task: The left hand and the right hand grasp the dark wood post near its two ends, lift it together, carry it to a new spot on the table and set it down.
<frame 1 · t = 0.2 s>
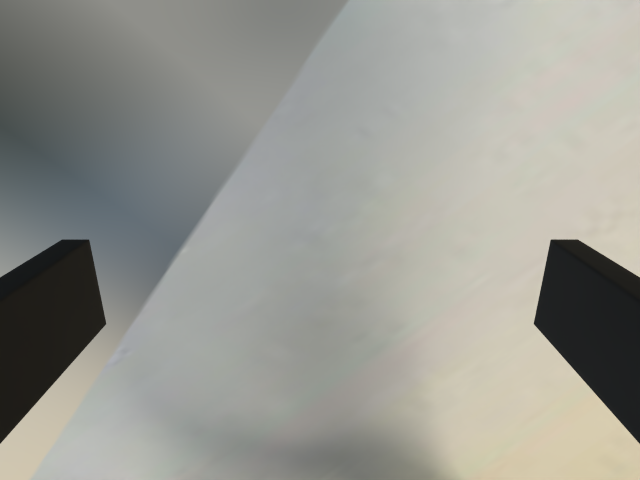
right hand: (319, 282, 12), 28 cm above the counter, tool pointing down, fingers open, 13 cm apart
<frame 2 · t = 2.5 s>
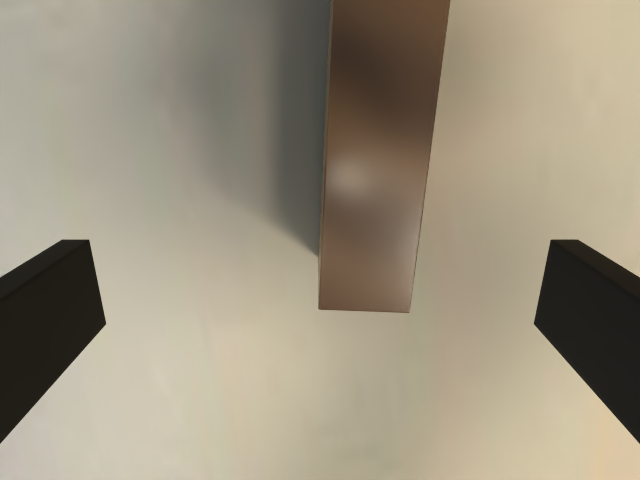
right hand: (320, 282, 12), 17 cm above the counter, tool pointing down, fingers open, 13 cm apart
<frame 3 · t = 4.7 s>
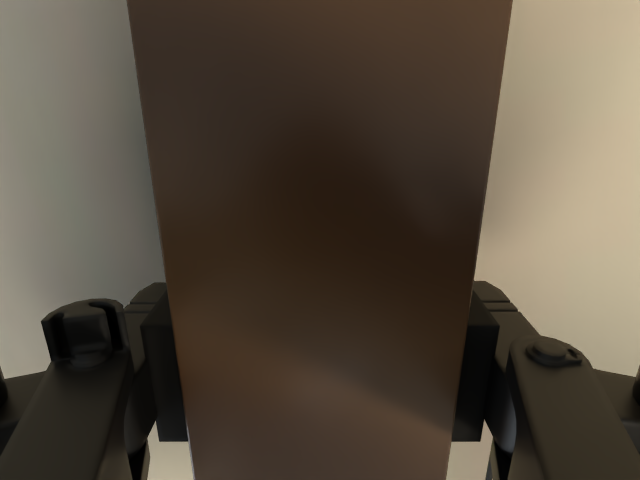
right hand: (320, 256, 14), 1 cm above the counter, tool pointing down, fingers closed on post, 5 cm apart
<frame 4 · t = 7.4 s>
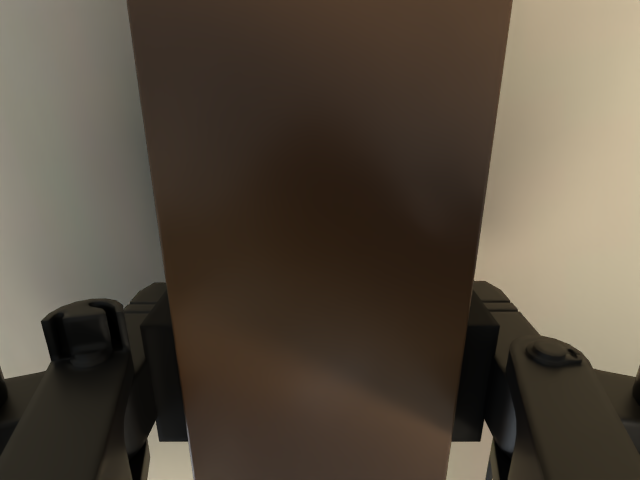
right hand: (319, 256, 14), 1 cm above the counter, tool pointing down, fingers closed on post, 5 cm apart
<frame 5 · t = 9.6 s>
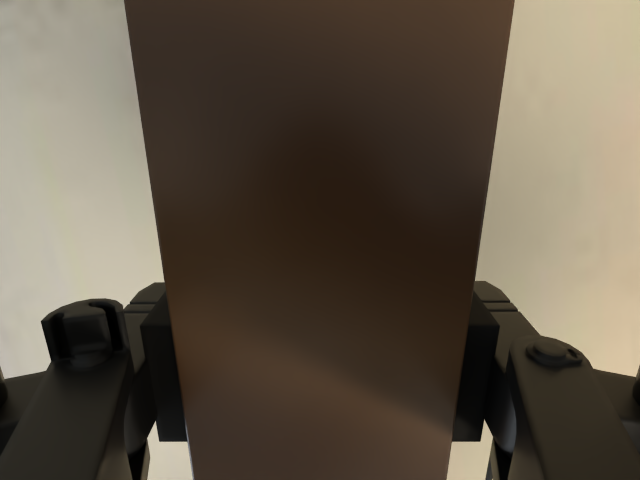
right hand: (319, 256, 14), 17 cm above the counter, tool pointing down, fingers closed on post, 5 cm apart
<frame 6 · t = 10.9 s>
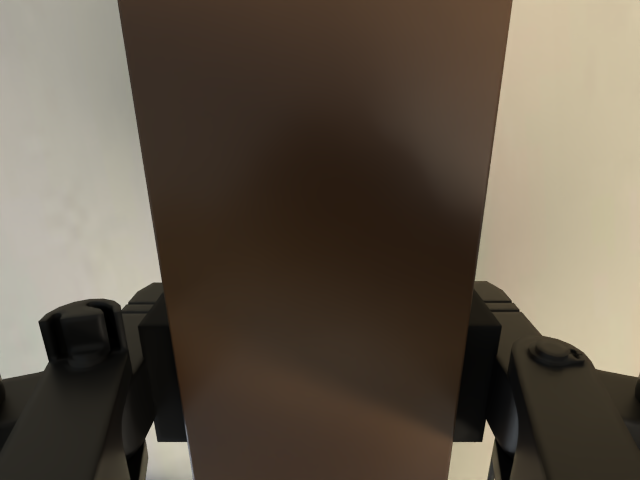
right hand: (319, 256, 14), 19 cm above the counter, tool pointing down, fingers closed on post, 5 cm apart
when the right hand's fingers open (2 cm above the counter, at t = 14.3 s): post drops 2 cm, on the counter.
when the left hand's fingers open (4 cm above the counter, at t = 14.5 s): post stays where it is, on the counter.
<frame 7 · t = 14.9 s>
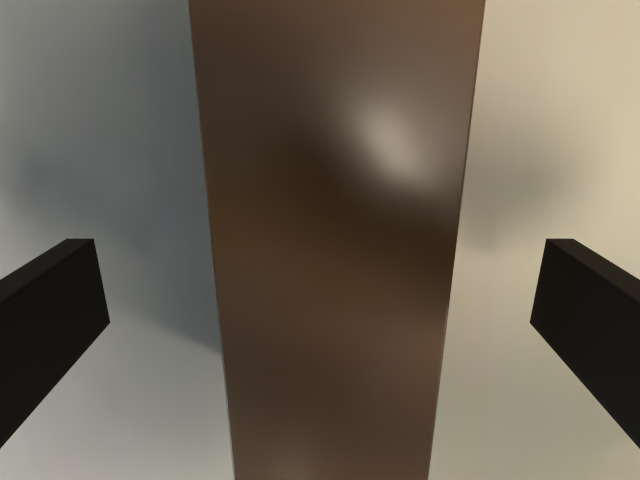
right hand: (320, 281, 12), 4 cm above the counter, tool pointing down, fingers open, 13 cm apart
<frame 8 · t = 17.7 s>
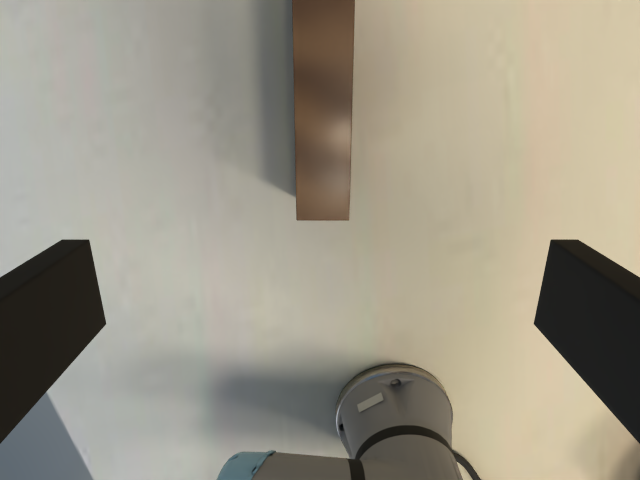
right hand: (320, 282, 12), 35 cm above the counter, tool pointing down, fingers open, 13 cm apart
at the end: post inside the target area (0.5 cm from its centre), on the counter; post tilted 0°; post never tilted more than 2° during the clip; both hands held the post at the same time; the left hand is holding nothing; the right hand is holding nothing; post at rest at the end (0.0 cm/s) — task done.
